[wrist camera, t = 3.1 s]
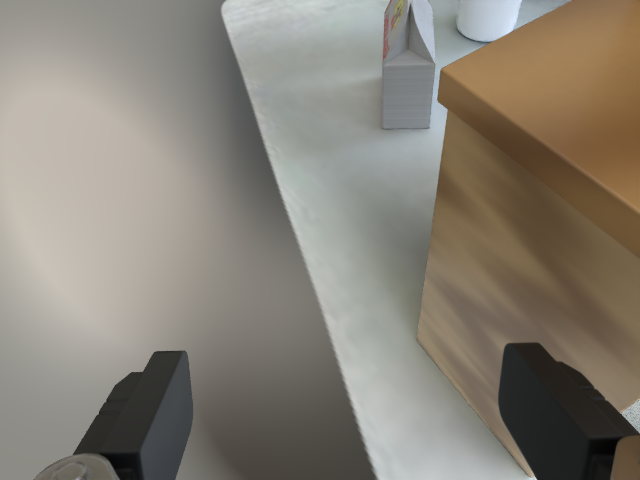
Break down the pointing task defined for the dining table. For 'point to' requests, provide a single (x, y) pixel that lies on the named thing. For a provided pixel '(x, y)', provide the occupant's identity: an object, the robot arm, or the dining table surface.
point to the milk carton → (408, 64)
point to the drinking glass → (487, 18)
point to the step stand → (540, 207)
